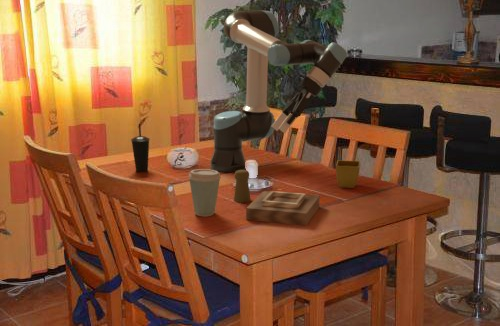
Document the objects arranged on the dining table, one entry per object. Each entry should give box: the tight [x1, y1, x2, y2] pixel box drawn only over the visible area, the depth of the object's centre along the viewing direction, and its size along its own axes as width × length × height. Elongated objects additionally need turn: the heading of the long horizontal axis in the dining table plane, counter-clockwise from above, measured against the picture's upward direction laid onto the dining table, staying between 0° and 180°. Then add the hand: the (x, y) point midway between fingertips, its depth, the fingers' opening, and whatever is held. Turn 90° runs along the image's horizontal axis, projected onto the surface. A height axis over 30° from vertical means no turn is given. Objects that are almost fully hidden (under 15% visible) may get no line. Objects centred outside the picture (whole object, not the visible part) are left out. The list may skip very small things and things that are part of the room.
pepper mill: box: [233, 169, 252, 204], centre depth 240 cm, size 6×6×11 cm
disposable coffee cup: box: [188, 168, 221, 217], centre depth 224 cm, size 11×11×15 cm
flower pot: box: [335, 159, 361, 189], centre depth 256 cm, size 9×9×9 cm
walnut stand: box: [245, 190, 321, 226], centre depth 226 cm, size 20×20×6 cm
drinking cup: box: [130, 123, 151, 173], centre depth 279 cm, size 8×8×20 cm
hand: (277, 129), depth 239 cm, fingers open, 13 cm apart
